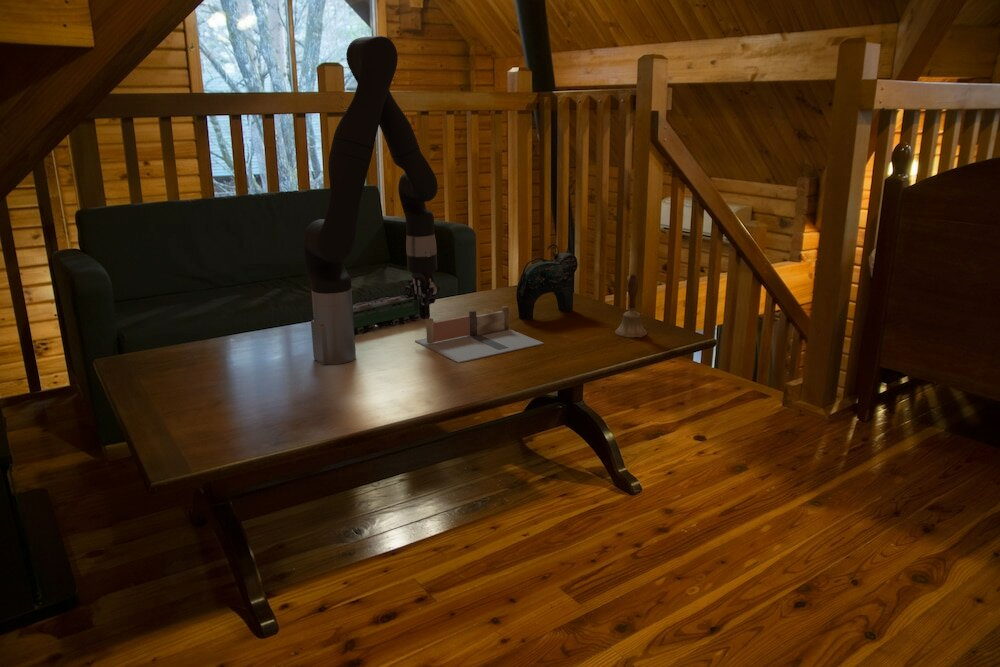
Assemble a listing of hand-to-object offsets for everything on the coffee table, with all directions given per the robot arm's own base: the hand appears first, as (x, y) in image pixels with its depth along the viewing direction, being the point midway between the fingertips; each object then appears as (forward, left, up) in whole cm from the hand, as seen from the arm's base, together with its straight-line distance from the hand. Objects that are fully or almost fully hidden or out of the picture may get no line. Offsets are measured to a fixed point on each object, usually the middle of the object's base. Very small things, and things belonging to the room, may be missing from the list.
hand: (425, 318), depth 202 cm
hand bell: (+47, -28, -6) cm, 54 cm away
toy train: (-5, +17, -6) cm, 18 cm away
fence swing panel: (+4, -6, -5) cm, 8 cm away
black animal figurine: (+41, 0, -6) cm, 41 cm away
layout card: (+9, -11, -6) cm, 15 cm away
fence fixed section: (+16, -6, -5) cm, 18 cm away
